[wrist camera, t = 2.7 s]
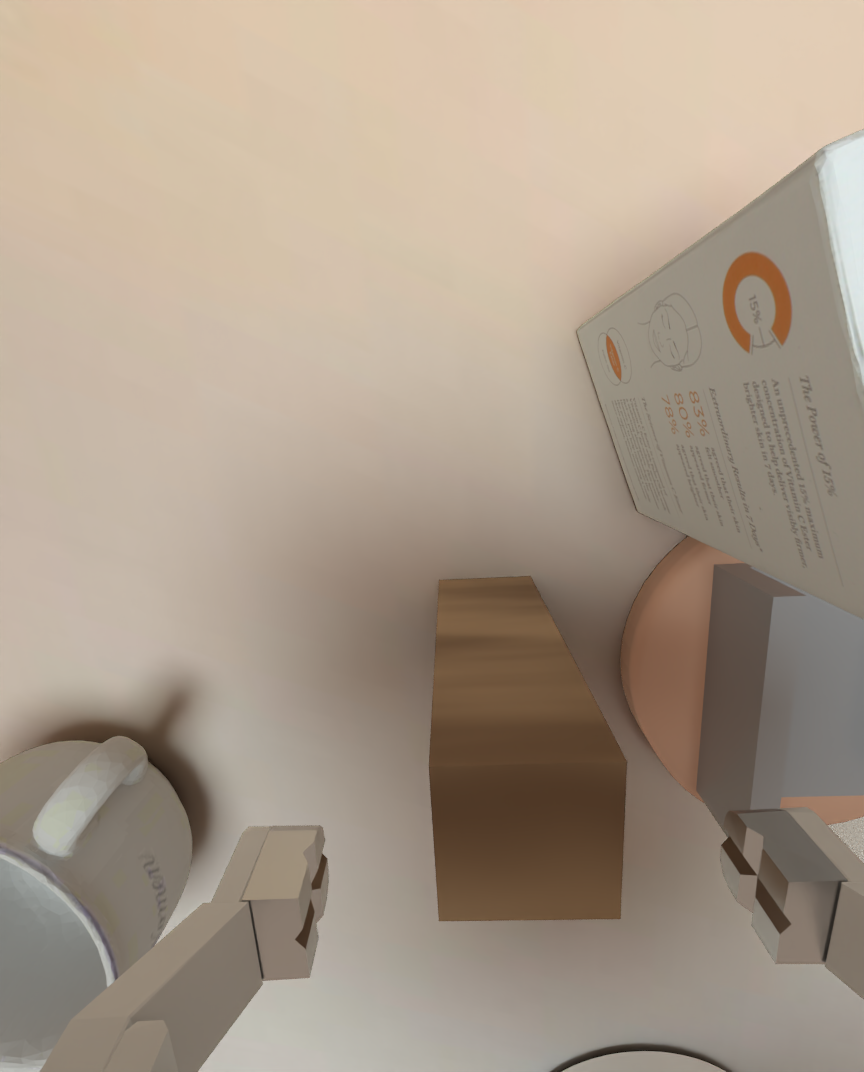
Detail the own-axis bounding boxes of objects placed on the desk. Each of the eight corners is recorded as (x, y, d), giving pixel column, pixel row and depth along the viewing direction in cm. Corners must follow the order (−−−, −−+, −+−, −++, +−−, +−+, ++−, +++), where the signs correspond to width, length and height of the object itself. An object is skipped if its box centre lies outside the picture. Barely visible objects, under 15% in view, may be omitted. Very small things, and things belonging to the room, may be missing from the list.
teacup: (133, 919, 27) (5, 1123, 19) (-33, 795, 25) (-246, 962, 18) (303, 768, 24) (235, 932, 17) (130, 620, 23) (-35, 724, 15)
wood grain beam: (531, 659, 23) (620, 918, 11) (443, 662, 23) (439, 921, 11) (530, 576, 22) (626, 761, 10) (439, 580, 22) (428, 766, 10)
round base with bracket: (915, 781, 23) (1071, 902, 17) (615, 788, 24) (669, 908, 18) (974, 487, 20) (1189, 515, 14) (625, 504, 21) (695, 537, 15)
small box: (786, 456, 20) (1362, 521, 7) (635, 515, 21) (925, 665, 8) (733, 254, 18) (1356, -103, 6) (571, 326, 19) (810, 148, 7)
